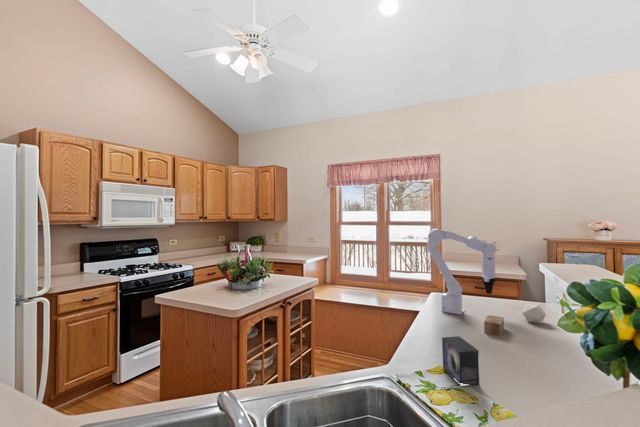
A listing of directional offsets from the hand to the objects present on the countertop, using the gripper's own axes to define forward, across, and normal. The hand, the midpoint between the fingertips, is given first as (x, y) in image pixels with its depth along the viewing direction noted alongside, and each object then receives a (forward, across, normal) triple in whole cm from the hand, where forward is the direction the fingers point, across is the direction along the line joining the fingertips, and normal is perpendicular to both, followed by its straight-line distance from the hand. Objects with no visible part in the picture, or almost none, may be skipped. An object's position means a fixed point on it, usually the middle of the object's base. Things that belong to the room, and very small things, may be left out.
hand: (489, 293), depth 147 cm
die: (+11, 0, -18) cm, 21 cm away
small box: (+11, -70, -2) cm, 71 cm away
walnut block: (+8, -18, -5) cm, 20 cm away
